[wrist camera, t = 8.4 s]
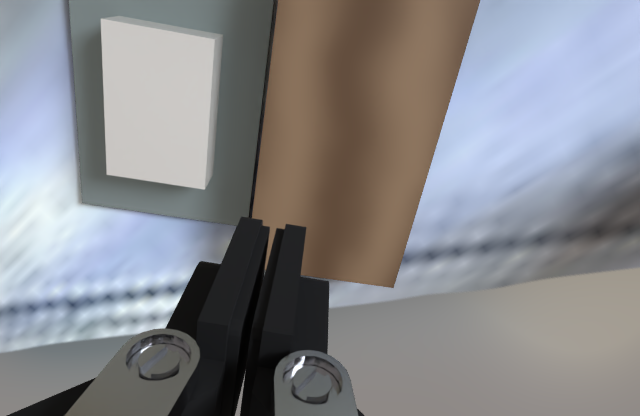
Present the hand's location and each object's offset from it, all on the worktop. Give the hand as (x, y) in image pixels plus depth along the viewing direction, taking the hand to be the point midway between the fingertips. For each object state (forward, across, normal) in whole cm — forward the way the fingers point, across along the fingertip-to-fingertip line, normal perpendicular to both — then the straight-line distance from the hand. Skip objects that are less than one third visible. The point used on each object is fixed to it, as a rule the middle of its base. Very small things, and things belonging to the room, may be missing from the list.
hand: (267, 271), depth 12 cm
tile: (+16, +8, +1) cm, 18 cm away
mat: (+19, +9, +2) cm, 21 cm away
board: (+19, -2, +2) cm, 19 cm away
